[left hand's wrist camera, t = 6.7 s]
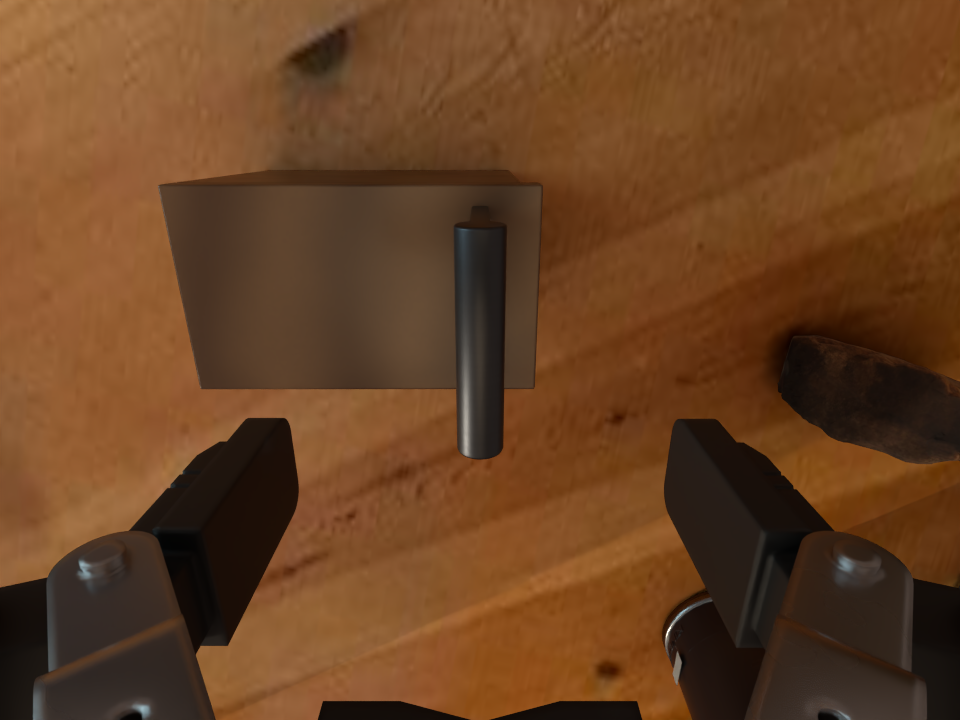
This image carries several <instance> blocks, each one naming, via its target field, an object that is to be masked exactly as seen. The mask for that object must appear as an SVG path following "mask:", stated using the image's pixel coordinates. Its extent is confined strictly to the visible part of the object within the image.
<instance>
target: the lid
mask: <svg viewBox="0 0 960 720" xmlns="http://www.w3.org/2000/svg"><path fill="white" fill-rule="evenodd" d="M158 188H159V193H160V198H161V203H162V207H163V212H164V217H165V222H166V226H167V231H168V236H169V241H170V245H171V250H172V255H173V260H174V264H175V269H176V274H177V279H178V284H179V288H180V293H181V298H182V303H183V307H184V312H185V317H186V322H187V326H188V331H189V336H190V341H191V345H192V350H193V355H194V360H195V364H196V369H197V374H198V379H199V383H200V388H201V389H456V395H457V447H458V450H459V452H460V453H461V454H462V455H464V456H466V457H468V458H472V459H489V458H492V457H495V456H497V455H498V454H500V452H501V451H502V449H503V424H504V389H534V387H535V366H536V342H537V318H538V293H539V269H540V245H541V220H542V196H543V186H542V185H541V184H540V183H169V184H161V185H159V186H158Z"/></svg>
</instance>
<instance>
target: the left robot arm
mask: <svg viewBox="0 0 960 720" xmlns="http://www.w3.org/2000/svg"><path fill="white" fill-rule="evenodd" d="M298 493H299V484H298V476H297V469H296V463H295V456H294V449H293V442H292V435H291V429H290V425H289V423H288V421H287V420H286V419H285V418H248V419H246V420H245V421H244V422H243V423H242V424H241V425H240V427H239V428H238V429H237V430H236V431H235V433H234V434H233V435H232V436H231V437H230V438H229V440H228V441H227V442H218V443H217V444H215V445H213V446H212V447H210V448H209V449H207V450H205V451H204V452H202V453H200V454H199V455H197V456H196V457H195V458H194V459H193V461H192V462H191V463H190V464H189V465H188V466H187V467H186V468H185V469H184V470H183V474H182V475H179V476H178V477H177V478H176V479H175V480H174V482H173V483H172V484H171V487H170V488H167V489H166V490H165V491H164V493H163V494H162V495H161V496H160V497H159V498H158V499H157V500H156V501H155V503H154V504H153V505H152V506H151V507H150V508H149V509H148V510H147V511H146V512H145V514H144V515H143V516H142V517H141V518H140V519H139V520H138V521H137V522H136V524H135V525H134V526H133V527H132V528H131V529H130V530H129V531H124V532H118V533H113V534H109V535H106V536H102V537H100V538H97V539H94V540H92V541H90V542H88V543H86V544H83V545H82V546H80V547H78V548H76V549H75V550H73V551H72V552H70V553H69V554H67V555H66V556H65V557H64V558H62V559H61V560H60V561H59V562H58V563H57V564H56V565H55V566H54V567H53V569H52V570H51V572H50V573H49V576H48V578H43V579H39V580H34V581H29V582H24V583H20V584H15V585H10V586H6V587H1V588H0V720H216V719H215V716H214V712H213V709H212V706H211V703H210V700H209V696H208V693H207V690H206V687H205V684H204V680H203V677H202V674H201V671H200V668H199V664H198V661H197V658H196V653H197V651H198V649H199V648H200V646H228V644H229V642H230V640H231V638H232V636H233V634H234V632H235V630H236V628H237V626H238V624H239V622H240V620H241V618H242V616H243V614H244V612H245V610H246V608H247V606H248V604H249V602H250V600H251V598H252V596H253V594H254V592H255V590H256V588H257V586H258V584H259V582H260V580H261V578H262V576H263V574H264V572H265V570H266V568H267V566H268V564H269V562H270V560H271V558H272V556H273V554H274V552H275V550H276V548H277V546H278V544H279V542H280V540H281V538H282V536H283V534H284V532H285V530H286V528H287V526H288V525H289V523H290V521H291V519H292V517H293V515H294V512H295V510H296V506H297V501H298ZM664 497H665V504H666V508H667V511H668V514H669V516H670V518H671V520H672V522H673V524H674V526H675V528H676V530H677V532H678V534H679V536H680V538H681V540H682V542H683V544H684V545H685V547H686V549H687V551H688V553H689V555H690V557H691V559H692V561H693V563H694V565H695V567H696V569H697V571H698V573H699V575H700V577H701V579H702V581H703V583H704V585H705V587H706V589H707V591H706V592H703V593H700V594H697V595H695V596H693V597H691V598H689V599H687V600H686V601H684V602H683V603H681V604H680V605H679V606H677V607H676V608H675V609H674V610H673V611H672V613H671V614H670V615H669V617H668V618H667V620H666V622H665V624H664V627H663V632H662V639H663V644H664V647H665V649H666V652H667V655H668V657H669V659H670V661H671V664H672V667H673V668H674V671H673V676H674V679H675V682H676V685H677V684H678V681H679V684H680V687H681V690H682V693H683V695H684V698H685V701H686V704H687V706H688V709H689V712H690V714H691V717H692V720H960V587H959V588H955V587H950V586H946V585H941V584H936V583H932V582H927V581H922V580H918V579H914V578H912V576H911V573H910V572H909V570H908V569H907V567H906V566H905V565H904V564H903V563H902V562H901V561H900V560H899V559H898V558H896V557H895V556H894V555H893V554H891V553H890V552H888V551H887V550H885V549H884V548H882V547H880V546H878V545H877V544H874V543H872V542H870V541H868V540H866V539H863V538H860V537H858V536H854V535H851V534H847V533H842V532H836V531H834V530H833V529H832V528H831V527H830V526H829V525H828V523H827V522H826V521H825V520H824V519H823V518H822V517H821V516H820V515H819V514H818V512H817V511H816V510H815V509H814V508H813V507H812V506H811V505H810V504H809V503H808V502H807V500H806V499H805V498H804V497H803V496H802V495H801V494H800V493H799V492H798V491H797V489H793V485H792V484H791V483H790V482H789V481H788V480H787V479H786V477H785V476H781V472H780V471H779V470H778V469H777V468H776V466H775V465H774V464H773V463H772V462H771V461H770V460H769V459H768V458H767V457H766V456H765V455H763V454H762V453H760V452H758V451H757V450H755V449H753V448H752V447H750V446H748V445H747V444H745V443H737V442H736V441H735V440H734V439H733V438H732V437H731V435H730V434H729V433H728V432H727V431H726V430H725V428H724V427H723V426H722V425H721V424H720V422H719V421H718V420H716V419H677V420H676V422H675V423H674V426H673V430H672V436H671V442H670V449H669V456H668V462H667V469H666V476H665V483H664ZM318 720H469V719H465V718H462V717H458V716H454V715H450V714H446V713H443V712H439V711H435V710H431V709H428V708H424V707H420V706H416V705H413V704H409V703H405V702H401V701H323V703H322V707H321V710H320V714H319V717H318ZM491 720H642V717H641V714H640V710H639V707H638V703H637V701H559V702H555V703H551V704H547V705H544V706H540V707H536V708H532V709H529V710H525V711H521V712H517V713H514V714H510V715H506V716H502V717H498V718H495V719H491Z"/></svg>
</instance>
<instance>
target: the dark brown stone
mask: <svg viewBox="0 0 960 720" xmlns="http://www.w3.org/2000/svg"><path fill="white" fill-rule="evenodd" d="M778 391H779V392H780V393H782V395H781V396H782V399H783V400H785V401H786V402H787V403H788V404H789V405H790V406H791V407H792V408H793V409H794V410H795V411H796V412H797V413H798V414H799V415H801V417H802V418H803V419H806V420H807V421H808V422H809V423H811V424H813V425H816V426H818V427H820V428H821V429H822V430H823V431H824V432H825V433H826V434H827V435H828V436H830V437H831V438H834V439H836V440H838V441H841V442H848V443H852V444H855V445H859V446H862V447H866V448H870V449H874V450H878V451H881V452H884V453H887V454H889V455H891V456H893V457H895V458H897V459H900V460H902V461H905V462H910V463H916V464H933V463H937V462H942V461H957V460H958V461H960V382H959V381H956V380H954V379H951V378H949V377H946V376H944V375H942V374H939V373H936V372H933V371H931V370H929V369H928V368H925V367H922V366H918V365H914V364H912V363H909V362H907V361H905V360H902V359H900V358H896V357H892V356H889V355H886V354H884V353H880V352H876V351H873V350H870V349H867V348H863V347H859V346H855V345H851V344H846V343H843V342H840V341H837V340H834V339H830V338H826V337H822V336H817V335H808V336H793V338H792V340H791V343H790V346H789V349H788V353H787V356H786V359H785V362H784V366H783V369H782V373H781V376H780V381H779V382H778Z"/></svg>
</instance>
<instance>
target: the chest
mask: <svg viewBox="0 0 960 720" xmlns="http://www.w3.org/2000/svg"><path fill="white" fill-rule="evenodd" d="M177 183H521V182H520V181H519V180H518V179H517V178H516V177H515V176H514V175H513V174H511V173H510V172H509V171H508V170H267V171H260V172H252V173H245V174H237V175H229V176H222V177H214V178H207V179H199V180H191V181H184V182H177Z"/></svg>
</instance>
